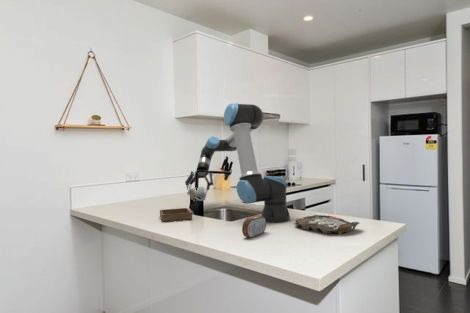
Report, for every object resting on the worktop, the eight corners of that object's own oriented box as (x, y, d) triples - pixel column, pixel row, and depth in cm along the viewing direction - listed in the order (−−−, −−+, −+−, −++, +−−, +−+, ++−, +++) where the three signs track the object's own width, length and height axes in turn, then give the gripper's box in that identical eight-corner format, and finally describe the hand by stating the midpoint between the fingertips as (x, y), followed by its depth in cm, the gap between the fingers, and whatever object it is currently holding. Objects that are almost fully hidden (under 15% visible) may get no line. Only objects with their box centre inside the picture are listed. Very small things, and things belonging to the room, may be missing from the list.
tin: (262, 231, 152) (261, 213, 152) (267, 232, 150) (267, 214, 150) (241, 239, 140) (241, 219, 140) (247, 240, 138) (247, 220, 138)
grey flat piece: (284, 228, 160) (283, 217, 160) (311, 220, 174) (311, 210, 174) (339, 240, 137) (338, 227, 137) (365, 230, 151) (365, 218, 151)
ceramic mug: (188, 199, 201) (188, 187, 201) (201, 198, 205) (200, 186, 205) (196, 202, 192) (196, 188, 192) (209, 200, 196) (208, 187, 196)
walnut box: (192, 220, 179) (192, 212, 179) (162, 222, 174) (162, 215, 174) (187, 214, 194) (187, 207, 194) (160, 216, 189) (159, 209, 189)
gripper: (221, 169, 213) (216, 197, 198) (188, 170, 217) (180, 197, 202) (219, 161, 208) (213, 189, 192) (185, 162, 212) (176, 189, 197)
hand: (196, 193), depth 197 cm, fingers closed on ceramic mug, 10 cm apart
